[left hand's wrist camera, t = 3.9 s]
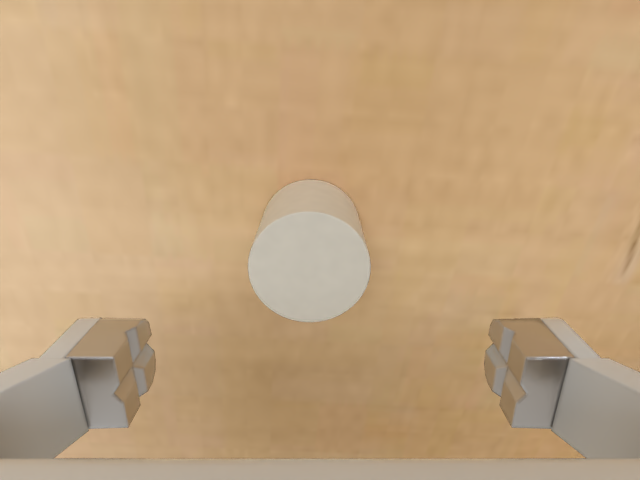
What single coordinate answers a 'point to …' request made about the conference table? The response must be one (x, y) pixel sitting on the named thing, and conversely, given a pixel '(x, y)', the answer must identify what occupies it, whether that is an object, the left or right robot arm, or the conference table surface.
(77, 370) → the left robot arm
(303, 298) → the canister
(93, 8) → the conference table surface
